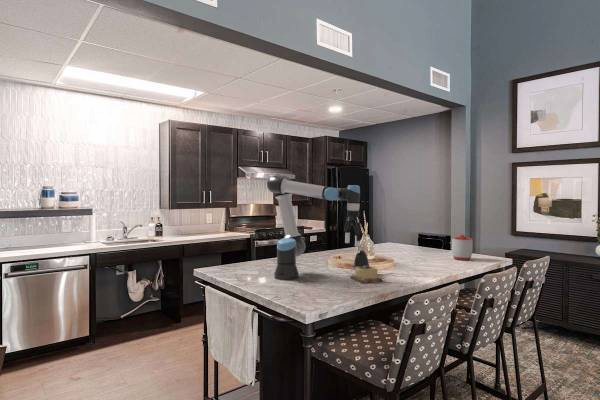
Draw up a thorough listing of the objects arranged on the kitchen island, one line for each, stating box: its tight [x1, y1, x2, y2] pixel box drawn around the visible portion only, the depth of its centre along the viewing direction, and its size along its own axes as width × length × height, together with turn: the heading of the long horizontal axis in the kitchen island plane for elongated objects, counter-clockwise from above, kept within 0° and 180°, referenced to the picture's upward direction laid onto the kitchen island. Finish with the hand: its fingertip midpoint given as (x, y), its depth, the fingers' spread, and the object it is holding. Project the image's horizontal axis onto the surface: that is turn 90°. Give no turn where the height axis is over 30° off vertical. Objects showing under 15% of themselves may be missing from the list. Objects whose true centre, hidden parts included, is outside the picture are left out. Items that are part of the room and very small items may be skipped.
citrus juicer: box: [449, 234, 474, 261], centre depth 290 cm, size 16×17×20 cm
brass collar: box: [354, 265, 378, 280], centre depth 219 cm, size 10×10×6 cm
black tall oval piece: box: [352, 249, 370, 272], centre depth 237 cm, size 10×10×15 cm
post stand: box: [350, 265, 384, 285], centre depth 219 cm, size 14×14×8 cm
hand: (352, 244), depth 225 cm, fingers open, 13 cm apart
